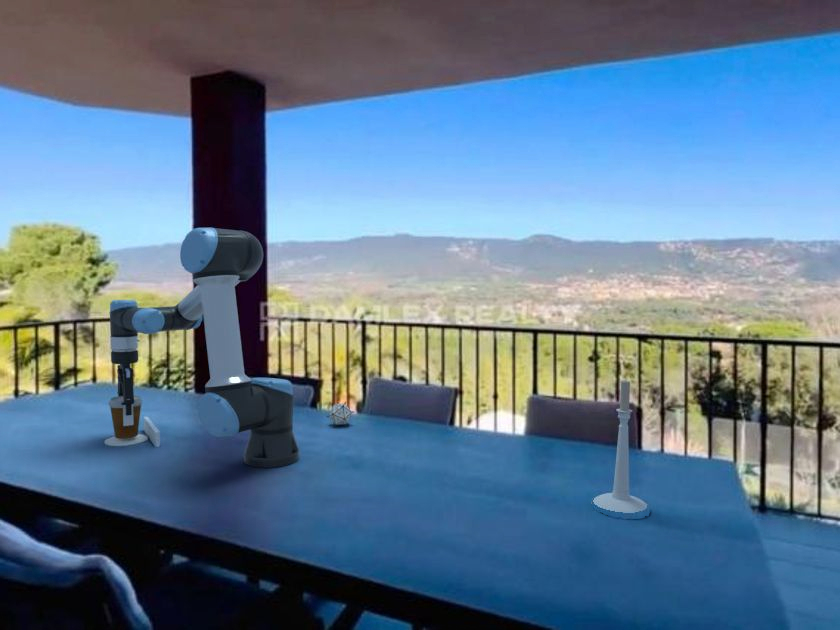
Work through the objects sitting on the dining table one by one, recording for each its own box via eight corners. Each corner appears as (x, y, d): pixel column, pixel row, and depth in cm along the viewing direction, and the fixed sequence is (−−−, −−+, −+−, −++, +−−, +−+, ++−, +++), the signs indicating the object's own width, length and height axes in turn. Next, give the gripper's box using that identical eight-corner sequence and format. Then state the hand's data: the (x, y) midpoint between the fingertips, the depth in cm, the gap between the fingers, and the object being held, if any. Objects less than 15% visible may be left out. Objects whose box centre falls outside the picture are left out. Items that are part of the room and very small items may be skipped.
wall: (160, 446, 178) (159, 431, 177) (155, 447, 177) (155, 432, 177) (147, 429, 196) (147, 416, 195) (143, 430, 195) (143, 416, 195)
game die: (344, 437, 204) (351, 418, 198) (321, 427, 204) (327, 408, 198) (352, 419, 211) (358, 400, 206) (330, 410, 211) (336, 391, 205)
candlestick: (604, 493, 145) (608, 372, 142) (658, 507, 136) (663, 378, 134) (582, 509, 135) (586, 379, 133) (638, 524, 127) (644, 386, 124)
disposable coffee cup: (118, 442, 177) (117, 402, 176) (103, 436, 182) (102, 398, 181) (149, 435, 184) (148, 397, 183) (134, 430, 190) (133, 393, 189)
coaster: (150, 442, 182) (150, 441, 182) (106, 448, 175) (106, 447, 175) (144, 433, 192) (144, 432, 192) (102, 438, 185) (102, 437, 185)
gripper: (143, 353, 174) (145, 428, 176) (132, 345, 193) (134, 412, 194) (115, 355, 170) (117, 431, 172) (106, 346, 188) (108, 415, 190)
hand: (126, 421), depth 183 cm, fingers closed on disposable coffee cup, 9 cm apart
